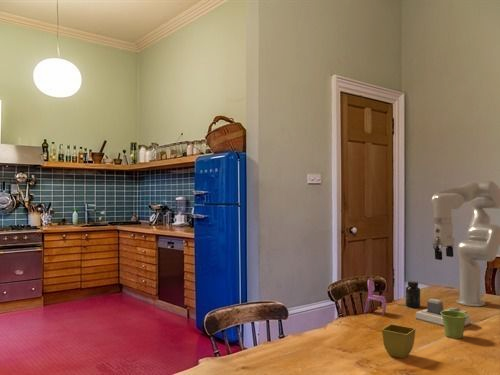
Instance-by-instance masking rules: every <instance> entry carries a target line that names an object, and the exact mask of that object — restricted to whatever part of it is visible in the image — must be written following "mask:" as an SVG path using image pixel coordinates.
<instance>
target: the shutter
mask: <svg viewBox="0 0 500 375" xmlns="http://www.w3.org/2000/svg"><path fill="white" fill-rule="evenodd" d="M442 311H458V312H462V313H465V314H467V315H468V311H467V310H463V309H460V307H457V306H456V307H450V308H449V307H448V308H445V309H443V310H442ZM466 318H467V317H466Z"/></svg>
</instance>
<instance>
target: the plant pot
mask: <svg viewBox="0 0 500 375" xmlns="http://www.w3.org/2000/svg"><path fill="white" fill-rule="evenodd" d="M440 314H441V315H442V318H443V323H444V326H443V328H444V335H445V337H449V338H450V339H457V340H458V339H459V340H460V339H463V336H464V330H465V326H464V324H465V320H466V317H467V316H468V313H467V314H465V313H462V312H458V311H442V312H440Z"/></svg>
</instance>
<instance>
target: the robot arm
mask: <svg viewBox="0 0 500 375" xmlns="http://www.w3.org/2000/svg"><path fill="white" fill-rule="evenodd" d="M466 203H469V207H470V211H471V214H472V215H471V220H470V223H469V225H468V226H467V227H468V228H467V230H466V238H467V239H464V240H460V242H458V244H457V248H456V250H457V255H458V260H459V262H458V263H459V298H457V299H456V303H457V304H459V305H463V306H467V307H484V306H485V305H486V303H485V301H483V300H482V298H485V295H484V294H483V293H482V268H481V265H480V264H479V263H478V261H479V262H480V261H481V262H493V261H494V260H495V259H496V258H497V255H498V252H499V249H500V226H499V225H497V224H493V223H492V224H491V217H490V215H489V214H488V213H487V211H485V209H495V210H496V209H500V187H499V186H498V184H497V183H495V182H494V181H492V180H472V181H469V182H467V183H464V184H463V185H460V186H456V187H451V188H448V189H442V190H440V191H438V192H435V193H433V195H432V197H431V205H432V207H433V222H434V223H433V225H434V229H433V231H434V232H433V241H432V247H433V251H434V259H435V260H438V261H442V260H443V251H442V250H443V247H444V248H445V256H446V257H448V258H449V257H450V258H454V245H455V233H454V231H455V230H454V226H453V213H452V212H453V211H452V210H460V209H461V208H462V207H463V206H464V205H465V204H466Z"/></svg>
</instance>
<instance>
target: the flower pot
mask: <svg viewBox="0 0 500 375" xmlns="http://www.w3.org/2000/svg"><path fill="white" fill-rule="evenodd" d="M381 333H382V334H381V335H382V341H383V346H384V349H385V350H386V353H387V354H388V356H391V357H395V358H399V359H406V357H408V356H409V355H410V353H411V352H412V349H413V347H414V345H415V337H416V328H414V327H410V326H409V327H408V326H405V325H404V326H403V325H399V324H393V323H390V324H388V325H386V326H385V327H383V328H382V329H381Z"/></svg>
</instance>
